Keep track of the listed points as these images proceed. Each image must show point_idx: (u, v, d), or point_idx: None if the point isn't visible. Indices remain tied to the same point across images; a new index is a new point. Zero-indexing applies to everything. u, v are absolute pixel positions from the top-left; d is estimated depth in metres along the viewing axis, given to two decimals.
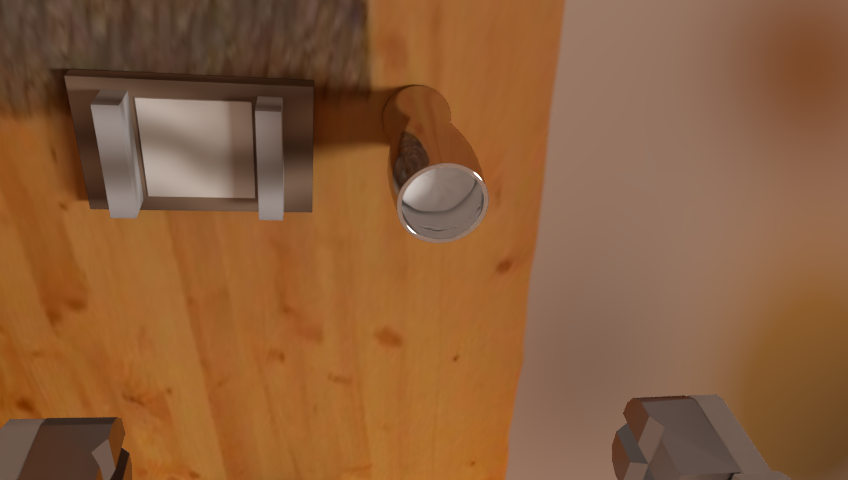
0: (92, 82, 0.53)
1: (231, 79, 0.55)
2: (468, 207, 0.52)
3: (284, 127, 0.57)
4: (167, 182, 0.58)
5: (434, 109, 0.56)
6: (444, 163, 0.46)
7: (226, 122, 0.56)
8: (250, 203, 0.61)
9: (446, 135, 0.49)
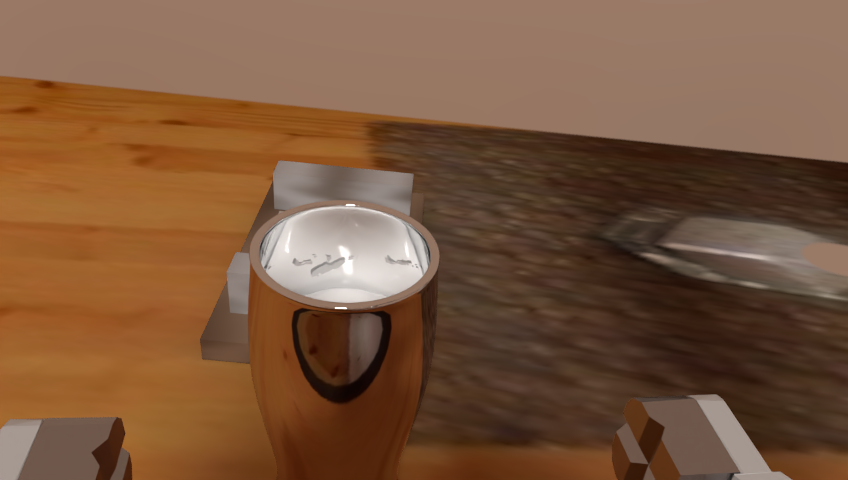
0: (417, 205, 0.53)
1: None
2: None
3: None
4: None
5: (395, 474, 0.29)
6: (438, 253, 0.24)
7: None
8: None
9: (433, 351, 0.25)
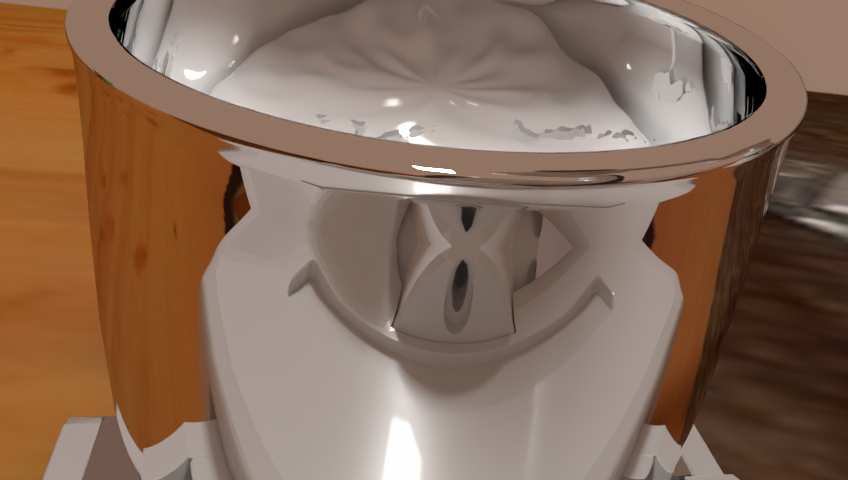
0: None
1: None
2: None
3: None
4: None
5: None
6: None
7: None
8: None
9: None
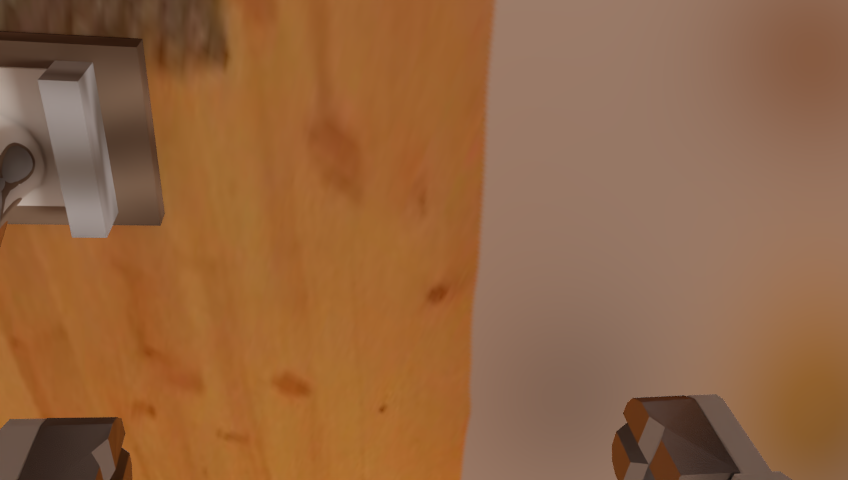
0: None
1: (16, 35, 0.38)
2: None
3: (102, 106, 0.40)
4: None
5: None
6: None
7: (13, 98, 0.39)
8: None
9: None
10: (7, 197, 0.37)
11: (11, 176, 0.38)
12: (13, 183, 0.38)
